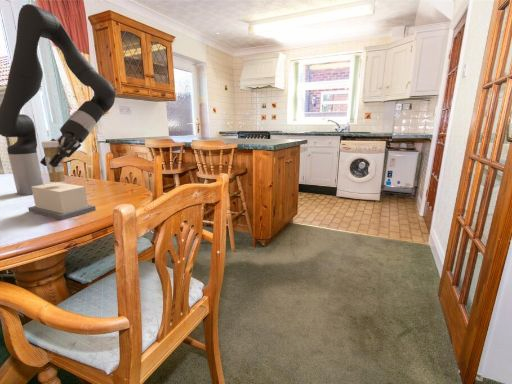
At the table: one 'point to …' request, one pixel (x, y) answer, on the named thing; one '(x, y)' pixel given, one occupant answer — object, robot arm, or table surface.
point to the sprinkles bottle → (50, 151)
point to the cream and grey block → (60, 200)
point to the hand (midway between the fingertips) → (47, 164)
